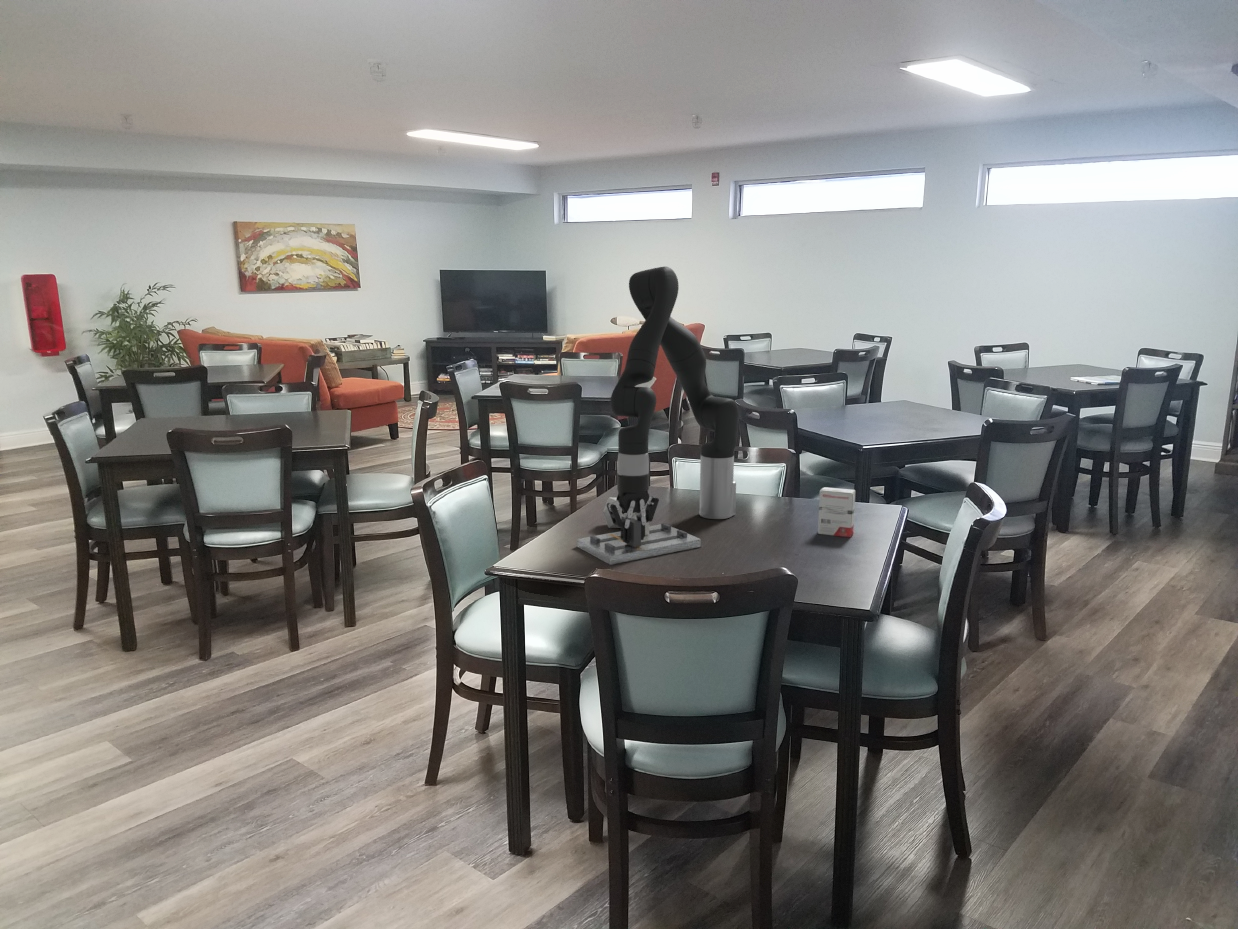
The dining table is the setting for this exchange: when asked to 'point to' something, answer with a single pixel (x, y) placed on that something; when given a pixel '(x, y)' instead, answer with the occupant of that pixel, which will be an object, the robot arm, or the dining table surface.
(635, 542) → the fader near
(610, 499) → the die
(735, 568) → the dining table surface
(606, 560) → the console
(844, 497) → the ink box
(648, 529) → the block
